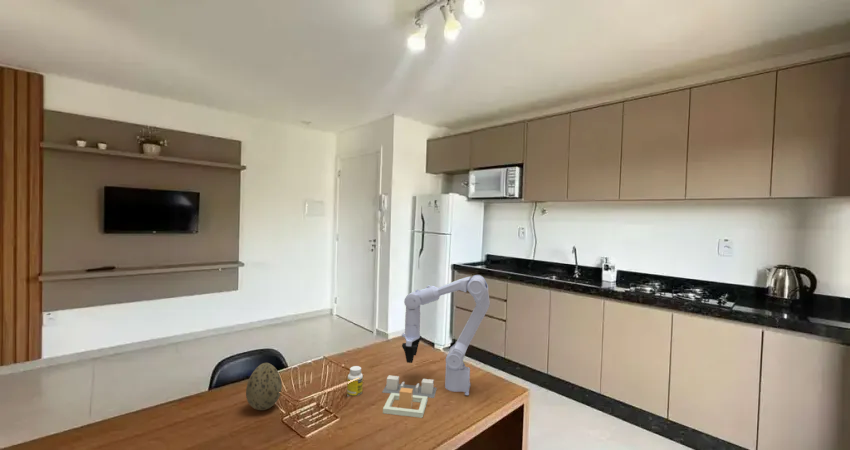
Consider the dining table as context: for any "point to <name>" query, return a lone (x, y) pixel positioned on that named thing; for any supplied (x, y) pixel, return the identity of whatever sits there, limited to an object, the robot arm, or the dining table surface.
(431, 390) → the block
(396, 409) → the tray
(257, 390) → the decorative egg
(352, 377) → the supplement bottle
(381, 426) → the dining table surface
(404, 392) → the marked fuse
